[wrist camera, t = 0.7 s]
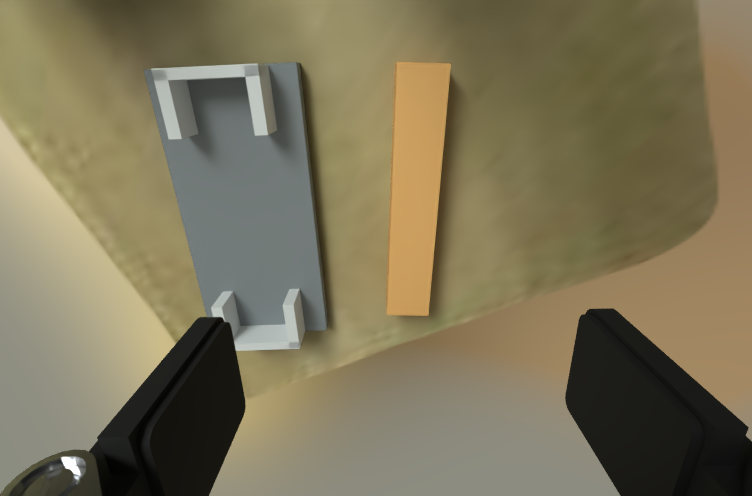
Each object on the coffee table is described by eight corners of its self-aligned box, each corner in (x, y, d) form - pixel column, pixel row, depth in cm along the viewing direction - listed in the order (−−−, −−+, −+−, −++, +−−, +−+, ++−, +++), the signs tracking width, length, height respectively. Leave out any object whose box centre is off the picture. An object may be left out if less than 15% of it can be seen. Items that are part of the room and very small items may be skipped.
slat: (394, 64, 32) (397, 62, 28) (443, 65, 32) (451, 63, 28) (386, 296, 40) (386, 314, 37) (424, 297, 40) (428, 315, 37)
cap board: (153, 70, 32) (119, 68, 27) (299, 63, 31) (288, 60, 27) (217, 325, 41) (199, 352, 37) (328, 321, 41) (322, 348, 37)
